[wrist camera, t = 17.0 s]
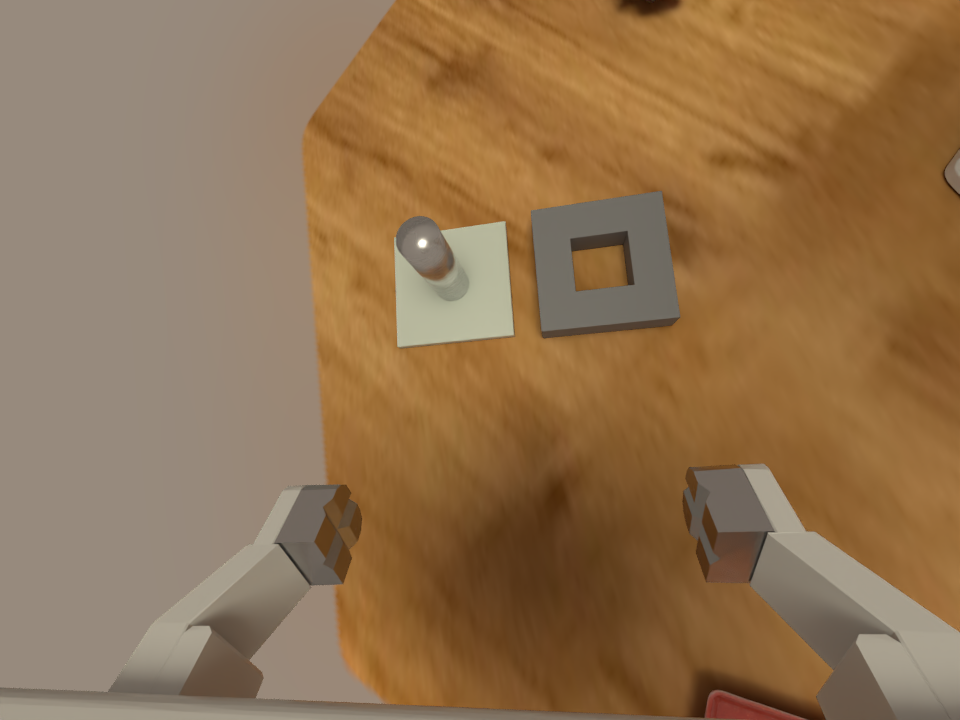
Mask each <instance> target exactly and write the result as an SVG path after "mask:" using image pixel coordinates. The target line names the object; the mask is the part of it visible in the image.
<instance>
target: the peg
mask: <svg viewBox="0 0 960 720" xmlns="http://www.w3.org/2000/svg"><path fill="white" fill-rule="evenodd" d="M396 246H397V249H398V251H399V252H400V253H401V255H402V256H403V257H404V258H405V259H406V260H407V261H408V262H409V263H410V264H411V266H412V267H413V268H414V269H415V270H416V271H417V272H418V273H419V274H420V276H421V277H422V278H423V279H424V280H425V281H426V282H427V283H428V284H429V285H430V287H431V288H432V289H433V290H434V291H435V292H436V293H437V294H438V295H439V296H440V297H441V298H442V299H444V300H446V301H456V300H459V299H460V298H462V297H463V296H464V295H465V294H466V293H467V291H468V288H469V278H468V276H467V274H466V272H465V271H464V269H463V268H462V266H461V264H460V263H459V261H458V259H457V258H456V256H455V254H454V253H453V251H452V249H451V248H450V246H449V244H448V243H447V241H446V239H445V238H444V236H443V234H442V233H441V231H440V229H439V228H438V226H437V224H436V223H435V222H434V221H433V220H431V219H430V218H427V217H423V216H417V217H413V218H410V219H408V220H407V221H405V222H404V223H403V224H402V225H401V227H400V228H399V230H398V232H397V235H396Z"/></svg>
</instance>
